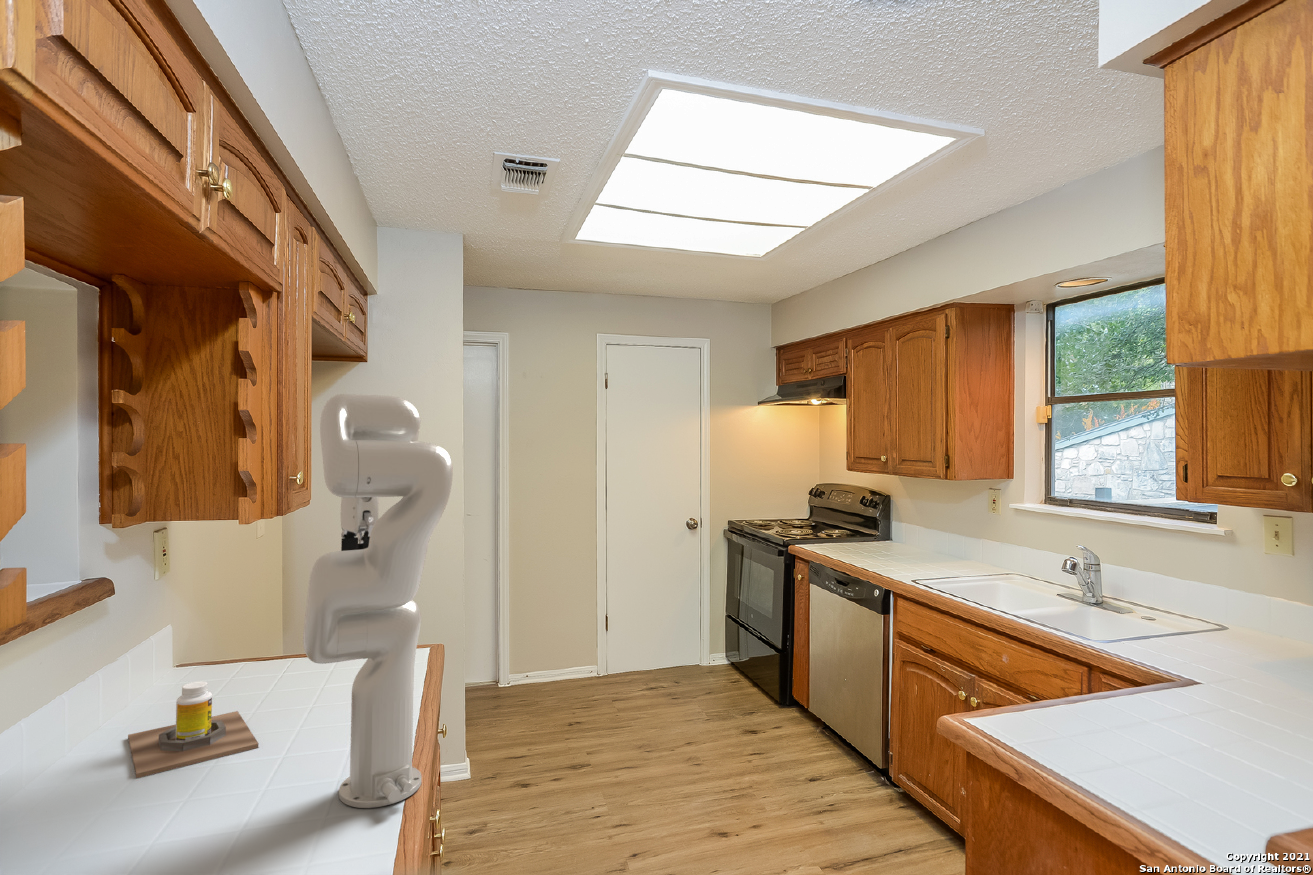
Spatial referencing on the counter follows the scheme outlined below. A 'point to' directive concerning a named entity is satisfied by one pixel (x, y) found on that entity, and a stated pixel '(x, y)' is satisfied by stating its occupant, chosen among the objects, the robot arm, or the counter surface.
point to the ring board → (189, 745)
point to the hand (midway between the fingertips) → (357, 559)
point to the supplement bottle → (193, 711)
